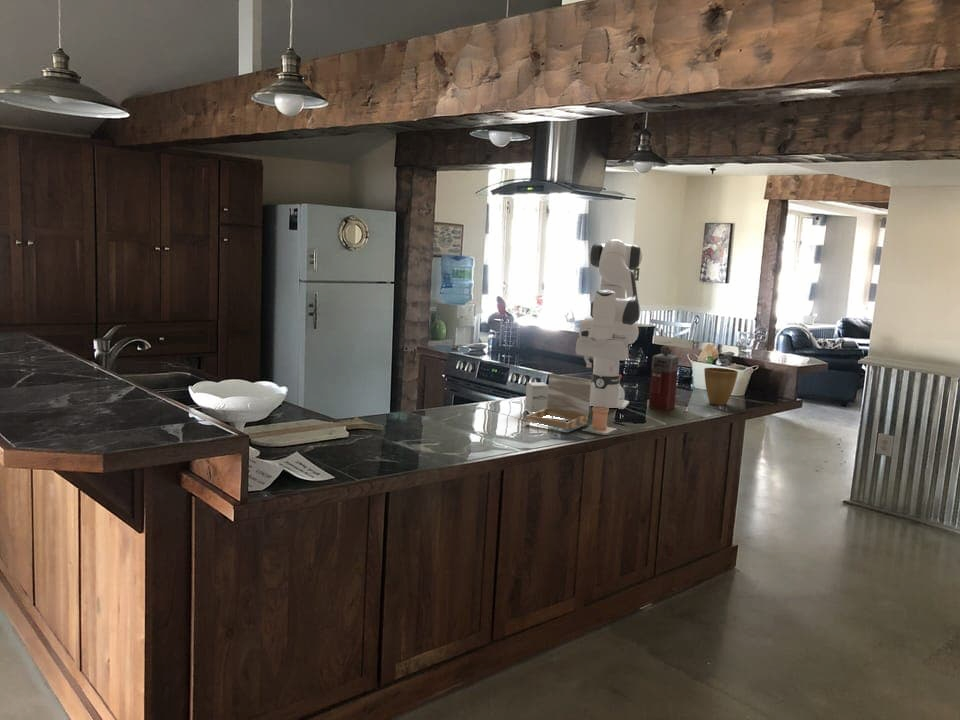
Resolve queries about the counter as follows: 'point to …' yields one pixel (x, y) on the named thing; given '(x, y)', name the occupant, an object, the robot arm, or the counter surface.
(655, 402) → the red liquid bottle
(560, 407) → the cold frame
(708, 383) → the plant pot
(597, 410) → the terracotta pot
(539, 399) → the supplement box
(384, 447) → the counter surface
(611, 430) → the stone paver
